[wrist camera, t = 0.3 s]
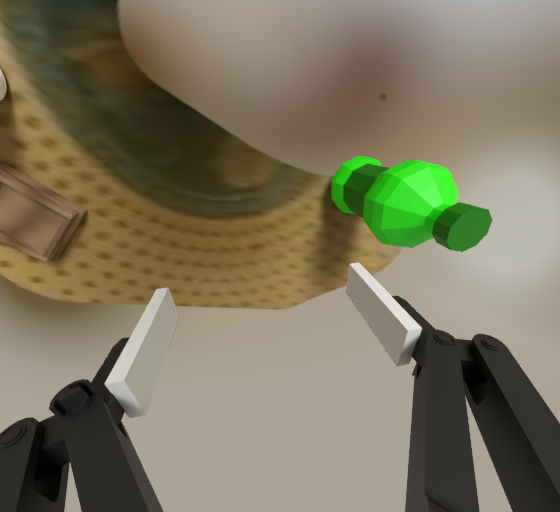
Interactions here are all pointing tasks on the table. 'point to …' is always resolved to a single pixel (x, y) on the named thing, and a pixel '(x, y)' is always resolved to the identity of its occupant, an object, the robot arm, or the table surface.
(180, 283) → the table surface
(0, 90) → the can
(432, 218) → the plastic bottle
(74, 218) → the tray
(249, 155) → the table surface
